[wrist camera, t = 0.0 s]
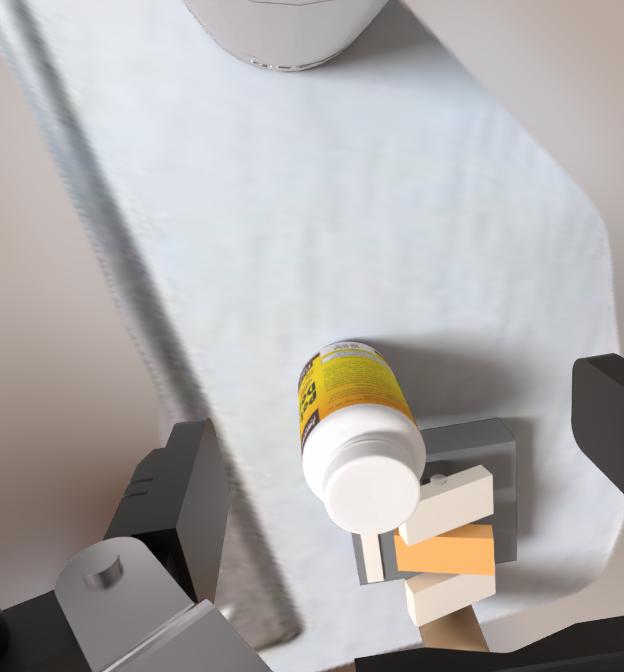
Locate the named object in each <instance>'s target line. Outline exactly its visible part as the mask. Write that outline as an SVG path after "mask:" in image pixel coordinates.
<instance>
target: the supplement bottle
mask: <svg viewBox="0 0 624 672" xmlns="http://www.w3.org/2000/svg"><path fill="white" fill-rule="evenodd" d="M298 396H299V413H300V436H301V450H302V464H303V471H304V475H305V478H306V480H307V483H308V485H309V486H310V488H311V489H312V491H313V492H314V493H315V494H316V495H317V496H318V497H319V498H320V499H321V500H322V501H324V502H325V506H326V509H327V512H328V514H329V515H330V517H331V518H332V520H333V521H334V522H335V523H336V524H337V525H339V526H340V527H342V528H343V529H345V530H347V531H349V532H352V533H356V534H362V535H376V534H382V533H385V532H388V531H391V530H393V529H395V528H397V527H399V526H401V525H402V524H403V523H405V522H406V521H407V520H408V519H409V518H410V517H411V516H412V515H413V513H414V512H415V510H416V509H417V506H418V504H419V501H420V497H421V486H420V481H419V480H420V478H421V476H422V474H423V471H424V467H425V462H426V450H425V445H424V441H423V438H422V435H421V433H420V431H419V429H418V427H417V424H416V422H415V420H414V418H413V416H412V413H411V411H410V409H409V407H408V404H407V402H406V400H405V398H404V396H403V393H402V391H401V389H400V386H399V384H398V382H397V380H396V378H395V375H394V373H393V371H392V369H391V367H390V365H389V363H388V362H387V360H386V359H385V358H384V357H383V356H382V355H381V354H380V353H379V352H378V351H377V350H375V349H374V348H372V347H370V346H368V345H365V344H362V343H357V342H339V343H334V344H331V345H328V346H326V347H324V348H322V349H321V350H319V351H318V352H316V353H315V354H314V355H313V356H312V357H311V358H310V359H309V360H308V361H307V363H306V364H305V366H304V367H303V370H302V372H301V374H300V378H299V384H298Z"/></svg>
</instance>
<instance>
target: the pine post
mask: <svg viewBox="0 0 624 672" xmlns="http://www.w3.org/2000/svg"><path fill="white" fill-rule="evenodd" d="M410 578H412V577H410ZM410 578H405V579H406V580H407V579H410ZM419 630H420V634H421V637H422V641H423V645H424V647H431V648H444V649H456V650H469V651H482V652H490V651H489V648H488V646H487V643H486V641H485V639H484V636H483V633H482V631H481V628H480V626H479V623H478V621H477V618H476V616H475V613H474V611H473V608H472V605H468V606H466V607H464V608H461V609H459V610H457V611H454V612H452V613H450V614H447V615H445V616H443V617H440V618H438V619H436V620H433V621H431V622H429V623H426V624H424V625H422V626H419Z"/></svg>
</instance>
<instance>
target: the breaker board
mask: <svg viewBox="0 0 624 672" xmlns="http://www.w3.org/2000/svg"><path fill="white" fill-rule="evenodd" d="M420 433H421V435H422V438H423V441H424V445H425V450H426V462H425V467H424V471H423V474H422V476H421V478H420V480H419V481H420V486H423V485H426V484H428V483H431V482H430V479H431V477H432V476H433V475H437V474H441V475H444V476H446V477H448V476H451V475H453V474H456V473H459V472H462V471H465V470H467V469H470V468H473V467H476V466H479V465H482V466H483V467H484V468H485V469H487V470H488V471H489V472H490V473H491V474H492V477H493V514H491V515H489V516H486V517H483V518H481V519H478V520H476V521H473V522H470V523H468V524H474V525H492V532H493V538H494V560H495V564H497V563H504V562H510V561H516V560H517V513H516V440H515V439H514V437H513V436H512V435H511V433H510V432H509V431H508V429H507V428H506V427H505V425H504V424H503V423H502V421H501V420H500V419H499V418H495V419H489V420H483V421H477V422H470V423H464V424H458V425H452V426H446V427H439V428H433V429H427V430H421V431H420ZM351 533H352V532H351ZM352 539H353V545H354V552H355V558H356V563H357V569H358V575H359V581H360V585H366V584H372V583H378V582H385V581H391V580H397V579H403V578H410V577H415V576H417V575H420V574H422V573H425V572H415V571H398V565H397V557H396V549H395V540H394V529H393V530H391V531H388V532H385V533H382V534H376V535H362V534H356V533H352Z"/></svg>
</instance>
